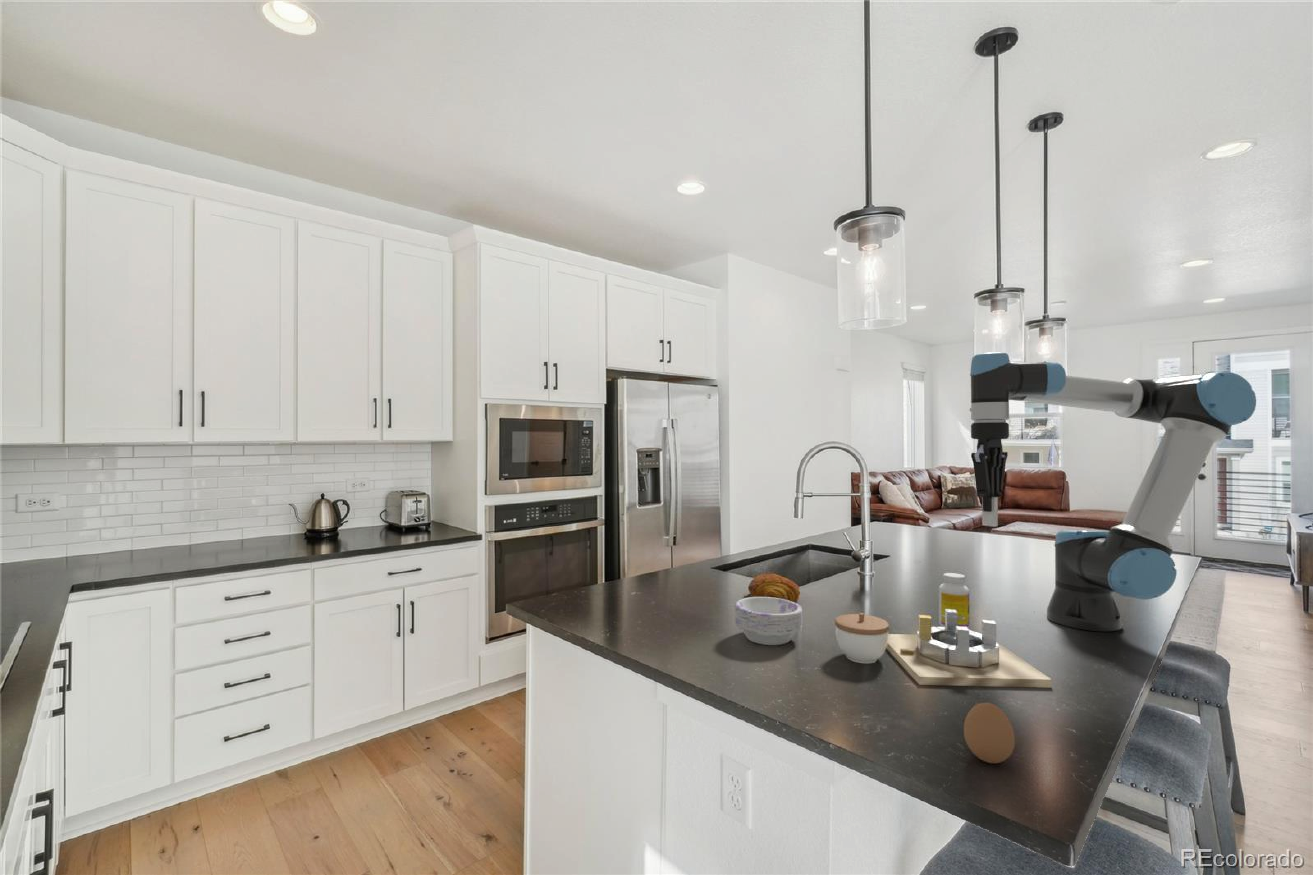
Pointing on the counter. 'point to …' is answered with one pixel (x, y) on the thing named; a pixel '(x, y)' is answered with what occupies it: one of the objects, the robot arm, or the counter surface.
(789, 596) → the croissant
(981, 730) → the egg
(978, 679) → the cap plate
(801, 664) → the counter surface
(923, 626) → the ring nut
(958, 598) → the supplement bottle
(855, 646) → the lidded jar
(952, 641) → the dark grey dome
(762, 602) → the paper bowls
